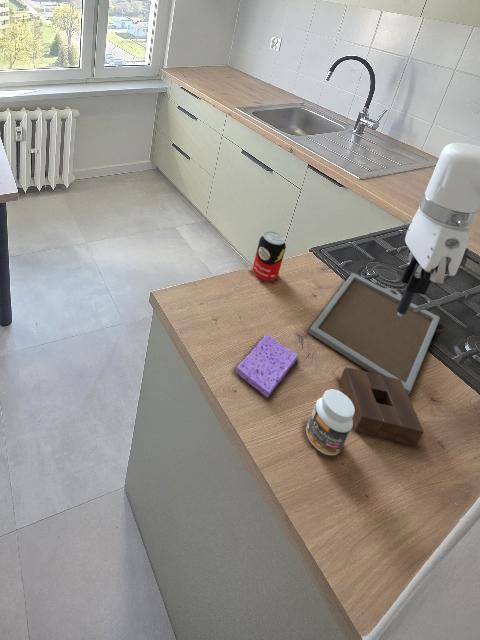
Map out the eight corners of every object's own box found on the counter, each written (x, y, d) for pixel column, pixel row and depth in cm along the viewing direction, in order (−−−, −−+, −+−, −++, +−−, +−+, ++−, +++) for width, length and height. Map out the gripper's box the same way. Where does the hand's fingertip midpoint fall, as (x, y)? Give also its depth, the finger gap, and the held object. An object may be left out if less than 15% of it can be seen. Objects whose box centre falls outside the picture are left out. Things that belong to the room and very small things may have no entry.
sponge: (234, 372, 84) (236, 366, 83) (265, 338, 92) (267, 332, 91) (267, 399, 79) (269, 392, 79) (296, 360, 87) (298, 354, 87)
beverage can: (249, 264, 114) (258, 228, 109) (273, 267, 113) (283, 231, 108) (254, 280, 108) (264, 243, 103) (279, 284, 107) (290, 247, 102)
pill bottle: (303, 444, 72) (318, 408, 68) (307, 415, 77) (321, 379, 73) (340, 464, 70) (358, 427, 66) (341, 433, 74) (358, 397, 70)
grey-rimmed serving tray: (309, 328, 93) (355, 267, 112) (308, 333, 94) (354, 272, 113) (410, 391, 80) (443, 311, 99) (407, 397, 81) (440, 316, 100)
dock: (393, 392, 82) (400, 379, 80) (416, 446, 73) (424, 431, 71) (339, 380, 84) (345, 366, 82) (355, 430, 75) (361, 416, 73)
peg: (402, 313, 86) (424, 263, 81) (405, 319, 85) (428, 269, 79) (393, 311, 86) (415, 262, 81) (396, 317, 85) (418, 267, 80)
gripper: (497, 240, 67) (454, 323, 75) (447, 190, 81) (415, 264, 89) (444, 232, 69) (407, 314, 76) (404, 184, 83) (376, 258, 90)
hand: (412, 287), depth 82 cm, fingers closed on peg, 1 cm apart
